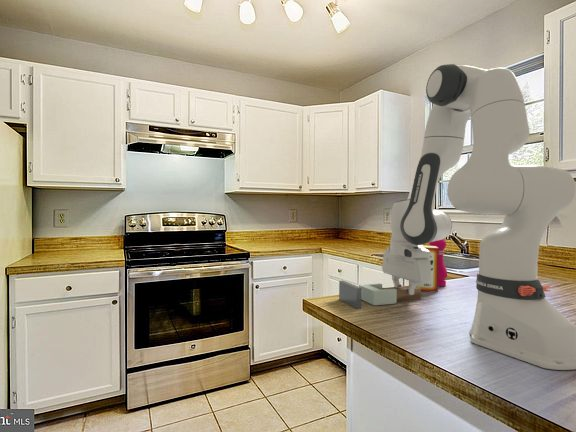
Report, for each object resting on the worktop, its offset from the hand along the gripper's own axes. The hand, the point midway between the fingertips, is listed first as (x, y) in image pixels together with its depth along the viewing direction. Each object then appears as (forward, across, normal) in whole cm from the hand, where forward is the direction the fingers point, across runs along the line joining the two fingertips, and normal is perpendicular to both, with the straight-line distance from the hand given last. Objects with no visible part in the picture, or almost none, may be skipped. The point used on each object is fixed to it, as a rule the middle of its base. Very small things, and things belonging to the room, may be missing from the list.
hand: (403, 292), depth 112 cm
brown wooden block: (+3, 0, -1) cm, 3 cm away
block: (+2, 0, -10) cm, 10 cm away
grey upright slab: (+2, 0, -20) cm, 20 cm away
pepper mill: (+2, -14, +26) cm, 30 cm away
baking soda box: (+2, -10, +16) cm, 19 cm away
